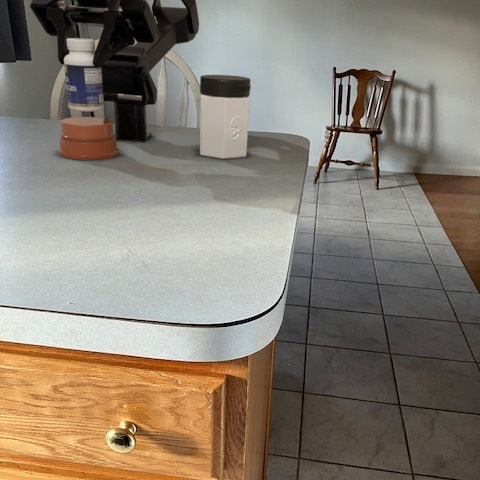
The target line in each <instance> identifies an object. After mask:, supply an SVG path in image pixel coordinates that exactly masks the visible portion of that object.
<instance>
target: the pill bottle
mask: <svg viewBox="0 0 480 480" xmlns="http://www.w3.org/2000/svg"><path fill="white" fill-rule="evenodd" d="M67 47H68V48H67V49H68V50H69V54H68V55H66V56H65V57H64V64H63V68H64V76H65V77H64V79H65V87H66V97H67V106H68V109H70V110H72V111H75V112H76V111H77V112H85V113H86V112H87V113H88V112H89V113H91V112H98V111H101V110H104V107H105V101H104V99H103V85H102V71H101V65H100V66H99V67H95V66H94V64H93V58H94V53H95V50H96V43H95V39H92V38H81V37H79V38H67Z"/></svg>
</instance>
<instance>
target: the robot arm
mask: <svg viewBox="0 0 480 480" xmlns="http://www.w3.org/2000/svg"><path fill="white" fill-rule="evenodd" d="M75 1H76V2H77V4H76V5H74V4H73V5H72V4H68V2H66V1H64V0H31V2H30V5H29V8H30V9H31V11H32V13H33V14H34V16H35V17H36V19H37V21H38V22H39V24H40V25H41V27H42V29H43V30H44V31H45V33H46V34H47V35H49V36H51V37H56V39H57V40H56V41H57V59H58V62H59V63H60V64H61V65H64V57H65V56H66V55H68V54H69V50H68V49H67V48H68V47H67V38H80V36H79V35H78V33H77V31H76V30H75V29H76V25H77V23H78V24H79V23H80V24H82V25H83V26H84V27H97V28H102V31H101V34H100V36H99V39H98V41H97V45H96V47H95V50H94V58H93V64H94V66H95V67H99V66H100V65H101V71H102V85H103V99H104V102H113V111H114V112H113V113H114V114H113V115H114V129H115V131H114V132H113V133H114V134H115V137H116V140H123V141H139V142H146V141H147V140H148V139H149V138H150V137H152V136H153V132H150V131H148V128H147V127H148V126H147V125H148V124H147V106H151V105H156V103H157V100H158V89H157V87H156V84H155V82H154V80H153V77H152V75H151V73H150V72H151V71H152V70H153V69H154V68H155V67H156V65H158V63H159V62H160V61H162V60H163V58H164V57H166V55H167V54H168V53H169V52H170V51H171V50H172V48H173V47H174V46H175V45H180V44H181V45H182V44H186V43H189V42H191V41H194V39H195V38H196V35H197V34H198V33H199V31H200V19H199V12H198V7H197V1H196V0H180V1H181V3H182V4H183V5H184V7H179V6H178V7H176V6H162V3H161V0H153V2H152V5H151V7H150V4H149V3H148V1H147V0H75ZM120 9H121V10H120Z"/></svg>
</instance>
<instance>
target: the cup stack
mask: <svg viewBox="0 0 480 480" xmlns="http://www.w3.org/2000/svg"><path fill="white" fill-rule="evenodd" d="M60 127H61V132H60V136H59V138H58V139H59V140H58V141H59V148H58V155H59V156H60V157H63V158H66V159H71V160H80V161H99V160H108V159H113V158H116V157H118V156H119V154H120V150H119V148H118V145H117V139H116V137H115V134H114V133H115V132H114V131H113V121H112V120H111V119H109V118H104V117H97V116H74V117H67V118H63V119H61V120H60Z"/></svg>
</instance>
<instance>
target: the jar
mask: <svg viewBox="0 0 480 480" xmlns="http://www.w3.org/2000/svg"><path fill="white" fill-rule="evenodd" d="M199 80H200V81H199V93H200V114H199V115H200V116H199V117H200V118H199V122H200V124H199V155H200V156H203V157H210V158H215V159H221V160H228V159H238V158H246V157H247V153H248V134H249V120H250V119H249V116H250V100H251V99H250V95H251V94H250V93H251V79H250V78H249V77H245V76H239V75H227V74H204V75H200V77H199Z"/></svg>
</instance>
